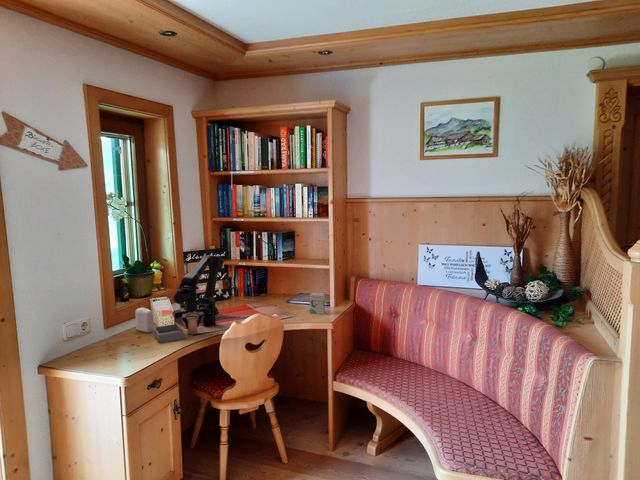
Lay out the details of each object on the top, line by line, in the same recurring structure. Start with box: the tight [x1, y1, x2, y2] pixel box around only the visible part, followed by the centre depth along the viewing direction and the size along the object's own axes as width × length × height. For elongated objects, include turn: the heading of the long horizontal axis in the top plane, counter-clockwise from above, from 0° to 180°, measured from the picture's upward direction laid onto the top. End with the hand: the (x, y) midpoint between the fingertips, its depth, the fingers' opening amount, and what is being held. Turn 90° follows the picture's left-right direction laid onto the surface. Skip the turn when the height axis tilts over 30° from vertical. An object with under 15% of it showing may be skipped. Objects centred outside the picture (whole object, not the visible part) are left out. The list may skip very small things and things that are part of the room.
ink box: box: [309, 292, 326, 315], centre depth 280 cm, size 9×5×12 cm, turn 73°
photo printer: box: [134, 307, 154, 333], centre depth 249 cm, size 10×4×12 cm, turn 60°
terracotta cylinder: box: [186, 316, 198, 335], centre depth 244 cm, size 5×5×8 cm
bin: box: [153, 323, 185, 344], centre depth 239 cm, size 12×14×4 cm
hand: (192, 328), depth 244 cm, fingers closed on terracotta cylinder, 5 cm apart
